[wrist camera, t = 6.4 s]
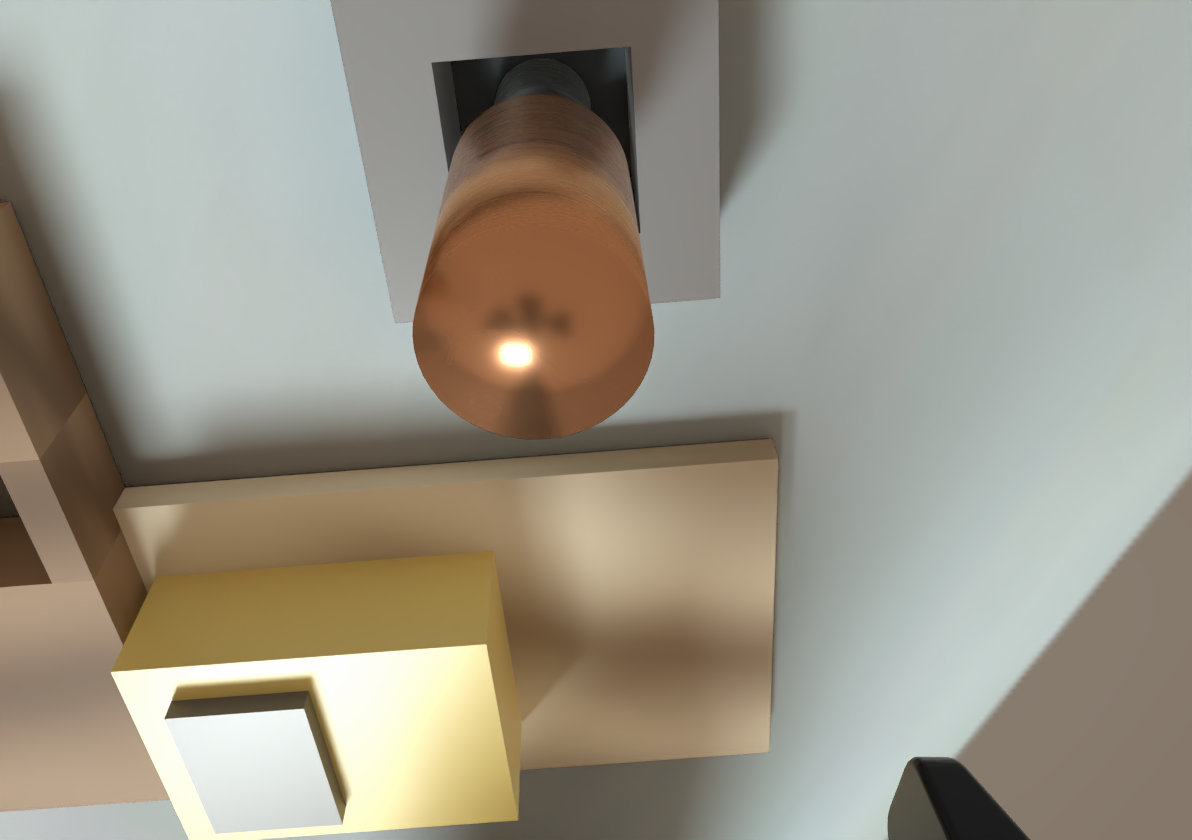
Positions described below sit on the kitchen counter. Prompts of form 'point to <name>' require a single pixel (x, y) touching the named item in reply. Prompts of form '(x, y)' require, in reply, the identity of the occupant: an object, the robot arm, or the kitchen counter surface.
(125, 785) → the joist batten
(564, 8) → the awl holder
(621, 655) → the subfloor panel
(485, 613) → the block
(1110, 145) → the kitchen counter surface
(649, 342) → the awl
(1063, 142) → the kitchen counter surface
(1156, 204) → the kitchen counter surface
